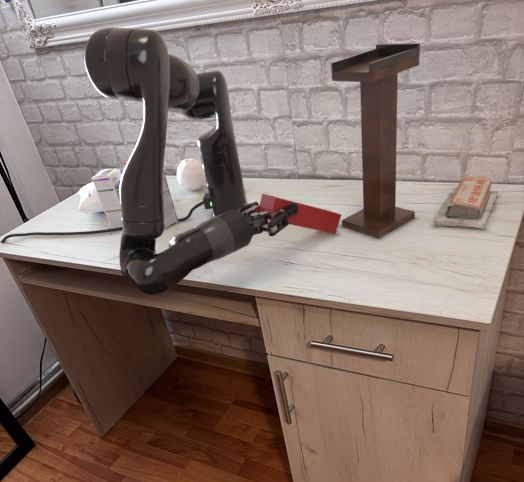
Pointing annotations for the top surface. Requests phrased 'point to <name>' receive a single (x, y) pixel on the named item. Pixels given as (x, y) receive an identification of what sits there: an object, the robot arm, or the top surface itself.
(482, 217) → the packaged product
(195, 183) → the decorative ball
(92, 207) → the pouch
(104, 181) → the syrup box
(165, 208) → the candy bar box
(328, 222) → the long red slab
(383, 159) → the wooden lectern
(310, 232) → the top surface
